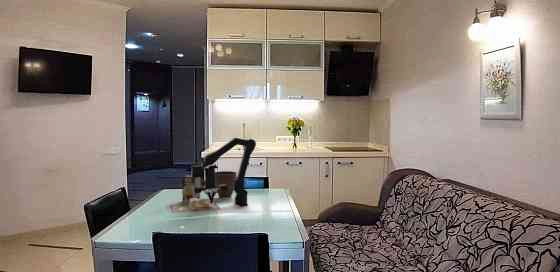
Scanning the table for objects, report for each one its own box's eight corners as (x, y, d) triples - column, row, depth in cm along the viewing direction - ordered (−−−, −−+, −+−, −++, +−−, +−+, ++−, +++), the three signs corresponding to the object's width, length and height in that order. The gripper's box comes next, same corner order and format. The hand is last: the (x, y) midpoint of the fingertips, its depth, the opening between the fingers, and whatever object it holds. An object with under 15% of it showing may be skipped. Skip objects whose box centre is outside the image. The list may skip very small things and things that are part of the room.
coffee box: (182, 202, 236) (181, 176, 235) (188, 200, 242) (187, 174, 241) (194, 203, 233) (194, 177, 232) (200, 201, 239) (200, 175, 238)
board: (214, 203, 234) (214, 201, 234) (220, 210, 215) (220, 208, 215) (169, 206, 226) (169, 205, 226) (171, 214, 207) (171, 212, 207)
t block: (207, 204, 227) (207, 197, 227) (209, 207, 218) (209, 200, 218) (189, 205, 224) (189, 198, 224) (191, 209, 215) (191, 201, 215)
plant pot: (241, 196, 253) (241, 172, 252) (226, 200, 241) (226, 175, 240) (224, 194, 261) (223, 170, 260) (208, 198, 249) (208, 173, 248)
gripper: (223, 173, 233) (224, 199, 234) (192, 175, 227) (193, 202, 228) (227, 176, 222) (228, 203, 223) (194, 178, 216) (195, 206, 217)
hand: (211, 203), depth 223 cm, fingers closed
